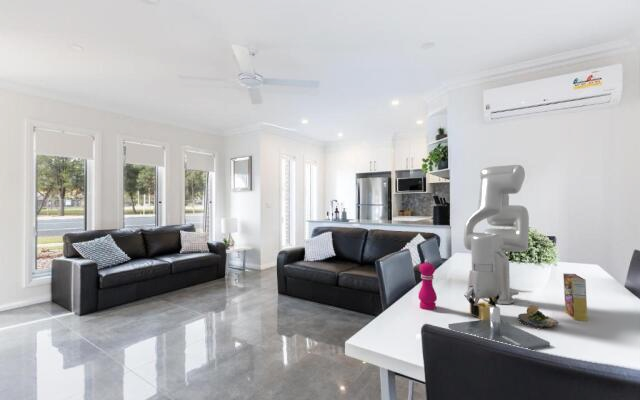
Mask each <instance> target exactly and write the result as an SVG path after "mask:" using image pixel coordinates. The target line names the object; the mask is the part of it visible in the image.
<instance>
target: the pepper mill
mask: <svg viewBox="0 0 640 400" xmlns="http://www.w3.org/2000/svg"><path fill="white" fill-rule="evenodd" d="M435 271H436V269H435V266H434V265H433V263H430V260H429V259H428V258H426V259H425V260H424V263H422V264H420V265H419V272H420V273H421V274H420V279H421V280H422V282H421V283H422V284H421V286H420V289H419V291H418V296H417V297H418V299H419V308H421V309H422V310H425V311H426V310H427V311H433V310H435V309H436V306H437V305H436V303H435V302H436V301H437V293H436V291H435V288H434V287H433V280H434V273H435Z"/></svg>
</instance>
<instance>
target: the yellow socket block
mask: <svg viewBox="0 0 640 400" xmlns="http://www.w3.org/2000/svg"><path fill="white" fill-rule="evenodd" d="M477 305H478V306H479V316H475V315H473V314H472V313H471V304H470V303H469V314H471V315H472V316H474V317H477V318H479V320H485V319H490V308H489V307H490V306H493V305H491V304H488V302H487V301H478V304H477Z"/></svg>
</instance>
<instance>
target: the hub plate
mask: <svg viewBox="0 0 640 400" xmlns="http://www.w3.org/2000/svg"><path fill="white" fill-rule="evenodd" d="M489 308H490V319H485V320H482V319H479V320H471V321H470V320H469V321H463V322H454V323H448V328H449V329H450V330H452V331H453V330H455V331H459V332H463V333H468V334H472V335H476V336H479V337H483V338H487V339H491V340H495V341H499V342H503V343H507V344H511V345H515V346H519V347H523V348H528V349H530V350H536V349H541V347H542V348H547V347H546V346H549V347H550V346H551V345H550V344H551V343H550V341H548V340H546V339H543V338H541V337H539V336H537V335H534V334H532V333H530V332H528V331H525V330H523V329H521V328H519V327H517V326H515V325H512V324H510V323H508V322H506V321H503V320H502V319H501V308H500V306H497V305H496V306H490V307H489ZM455 331H454V332H455Z"/></svg>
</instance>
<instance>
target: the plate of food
mask: <svg viewBox="0 0 640 400" xmlns="http://www.w3.org/2000/svg"><path fill="white" fill-rule="evenodd" d="M527 303H528V305H530V303H529V301H528V302H527ZM517 317H518V319H520V320H519V321H518V323H520V322H521V323H520V324H522V323H523V324H522V325H525V324H526V325H525V326H527V325H529V326H528V327H530V326H531V327H530V328H533V327H534V329H537V328H539V329H538V330H542V329H543V328H544V327H545V328H550V327H551V328H552V327H554V326H556V325H558V324H559V322H558V321H557V320H556V319H554V318H553V317H550V316H547V315H545V314H544V313H543V312H542V311H540V310H539V306H535V305H530V306H528V307H527V308H526V313H525V312H524V313H520V314H518V315H517Z"/></svg>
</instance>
